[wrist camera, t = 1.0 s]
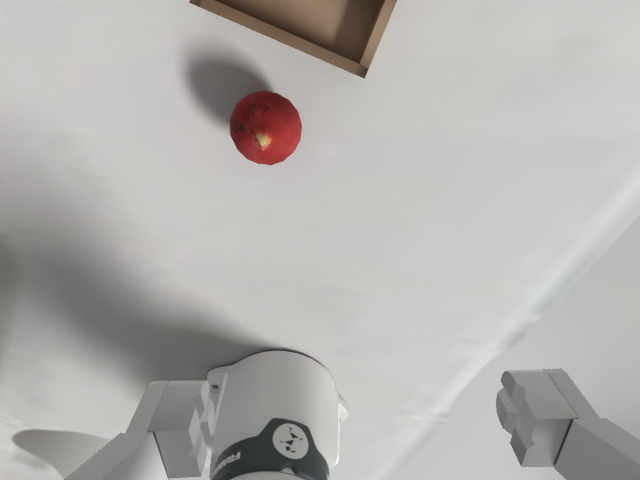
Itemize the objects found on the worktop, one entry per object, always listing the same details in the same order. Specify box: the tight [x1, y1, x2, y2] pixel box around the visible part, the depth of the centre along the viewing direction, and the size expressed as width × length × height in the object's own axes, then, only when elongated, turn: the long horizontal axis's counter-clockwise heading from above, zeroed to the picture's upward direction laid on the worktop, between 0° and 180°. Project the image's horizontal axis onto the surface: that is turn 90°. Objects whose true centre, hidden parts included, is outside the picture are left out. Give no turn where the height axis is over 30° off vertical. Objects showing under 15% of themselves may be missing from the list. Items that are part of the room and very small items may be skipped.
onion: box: [230, 91, 302, 165], centre depth 33 cm, size 6×6×8 cm
